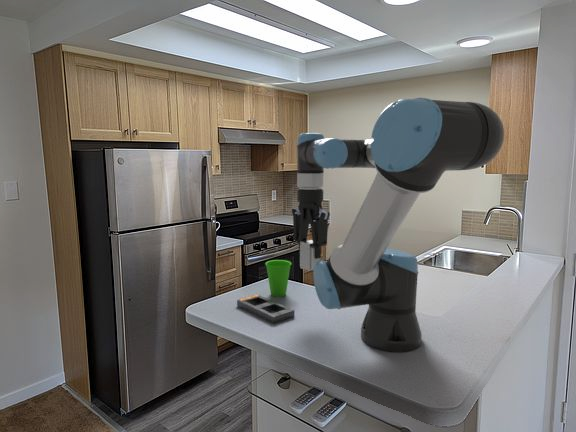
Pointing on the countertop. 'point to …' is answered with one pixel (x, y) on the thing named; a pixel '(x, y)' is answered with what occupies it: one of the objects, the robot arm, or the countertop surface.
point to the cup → (278, 276)
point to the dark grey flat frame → (265, 308)
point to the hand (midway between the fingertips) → (309, 267)
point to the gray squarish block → (305, 254)
